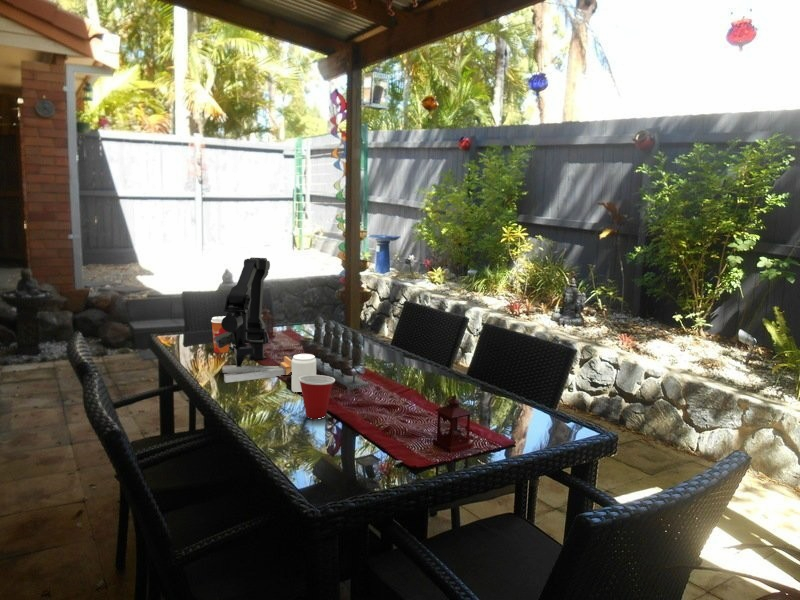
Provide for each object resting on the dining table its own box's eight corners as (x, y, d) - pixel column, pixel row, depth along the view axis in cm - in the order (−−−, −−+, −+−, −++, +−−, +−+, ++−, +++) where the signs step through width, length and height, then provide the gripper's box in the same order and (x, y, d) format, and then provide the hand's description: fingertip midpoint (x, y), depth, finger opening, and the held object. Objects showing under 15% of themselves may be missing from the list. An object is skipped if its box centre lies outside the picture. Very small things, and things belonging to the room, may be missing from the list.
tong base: (222, 379, 228) (222, 372, 228) (287, 371, 240) (287, 365, 239) (226, 383, 224) (226, 376, 223) (291, 375, 235) (291, 368, 235)
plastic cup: (342, 414, 197) (342, 376, 194) (320, 425, 187) (320, 385, 185) (313, 407, 202) (313, 370, 200) (290, 418, 193) (290, 378, 191)
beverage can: (303, 396, 212) (303, 361, 210) (286, 391, 217) (286, 356, 215) (321, 391, 218) (321, 356, 216) (304, 386, 223) (304, 352, 221)
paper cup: (210, 350, 267) (209, 316, 265) (229, 348, 270) (228, 315, 268) (213, 354, 260) (212, 320, 258) (232, 353, 263) (232, 319, 261)
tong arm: (279, 372, 238) (279, 366, 237) (278, 374, 236) (278, 367, 235) (223, 371, 237) (223, 365, 237) (222, 372, 235) (222, 366, 235)
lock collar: (280, 371, 239) (280, 356, 238) (286, 370, 240) (286, 356, 239) (286, 376, 233) (286, 361, 232) (292, 375, 234) (292, 361, 233)
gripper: (210, 321, 239) (210, 362, 242) (222, 333, 223) (222, 377, 226) (240, 319, 244) (240, 359, 247) (254, 331, 228) (254, 373, 231)
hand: (238, 367), depth 238 cm, fingers closed
